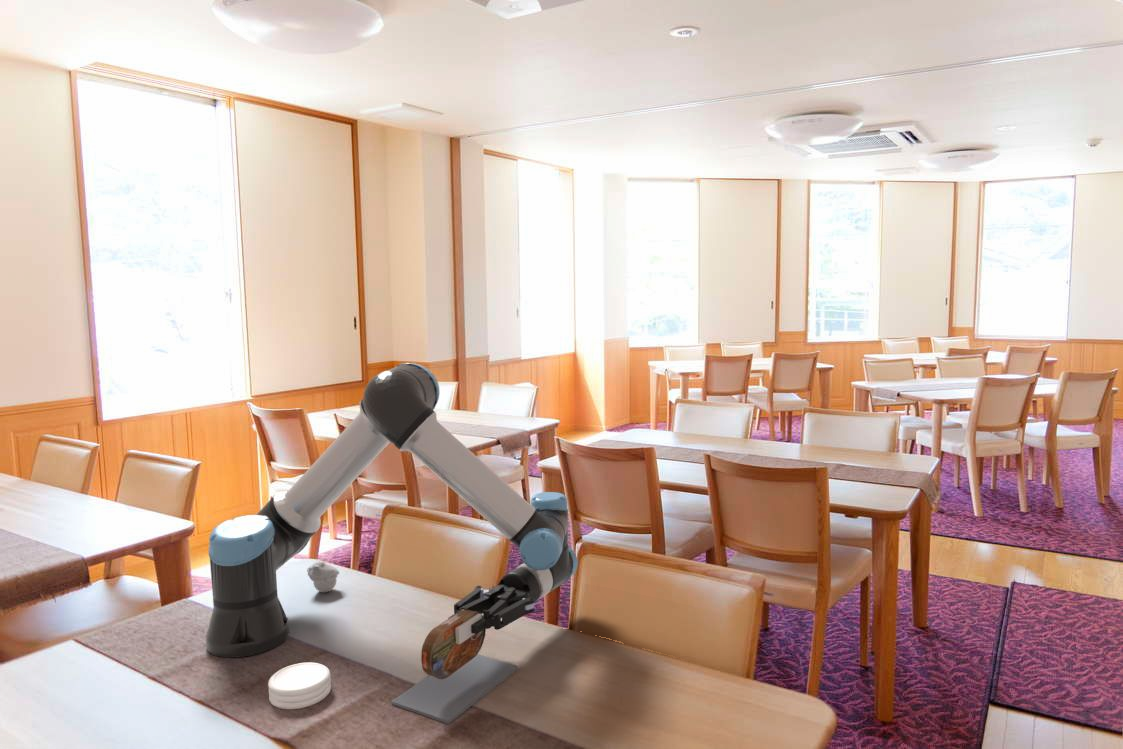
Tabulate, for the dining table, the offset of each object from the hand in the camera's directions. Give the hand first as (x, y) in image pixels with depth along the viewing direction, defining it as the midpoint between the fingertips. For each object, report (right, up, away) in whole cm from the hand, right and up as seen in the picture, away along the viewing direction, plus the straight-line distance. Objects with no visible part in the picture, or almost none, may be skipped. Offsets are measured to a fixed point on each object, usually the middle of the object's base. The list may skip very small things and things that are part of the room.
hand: (449, 634), depth 130 cm
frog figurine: (-35, -6, +44) cm, 57 cm away
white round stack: (-26, -11, +1) cm, 28 cm away
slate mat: (+1, -10, +3) cm, 10 cm away
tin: (0, -6, +2) cm, 6 cm away
